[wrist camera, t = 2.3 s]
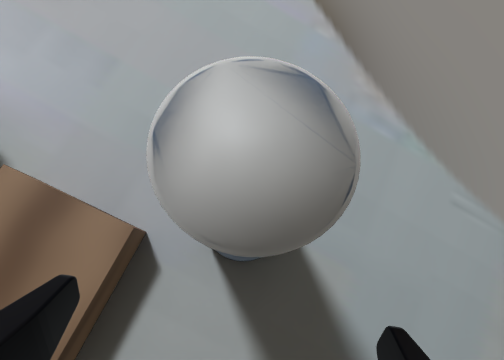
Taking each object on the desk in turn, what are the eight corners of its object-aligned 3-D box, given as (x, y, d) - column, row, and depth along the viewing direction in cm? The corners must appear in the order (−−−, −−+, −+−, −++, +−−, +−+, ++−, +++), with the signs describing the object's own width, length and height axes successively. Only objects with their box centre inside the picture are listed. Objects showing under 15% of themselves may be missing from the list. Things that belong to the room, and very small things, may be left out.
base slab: (146, 232, 20) (133, 227, 17) (66, 373, 17) (39, 390, 15) (30, 176, 20) (3, 164, 18) (-62, 304, 18) (-108, 310, 16)
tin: (297, 200, 21) (386, 103, 9) (264, 277, 19) (315, 298, 7) (224, 167, 21) (208, 28, 9) (186, 240, 20) (103, 196, 7)
